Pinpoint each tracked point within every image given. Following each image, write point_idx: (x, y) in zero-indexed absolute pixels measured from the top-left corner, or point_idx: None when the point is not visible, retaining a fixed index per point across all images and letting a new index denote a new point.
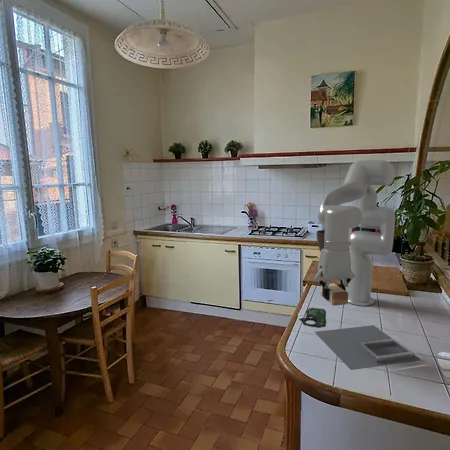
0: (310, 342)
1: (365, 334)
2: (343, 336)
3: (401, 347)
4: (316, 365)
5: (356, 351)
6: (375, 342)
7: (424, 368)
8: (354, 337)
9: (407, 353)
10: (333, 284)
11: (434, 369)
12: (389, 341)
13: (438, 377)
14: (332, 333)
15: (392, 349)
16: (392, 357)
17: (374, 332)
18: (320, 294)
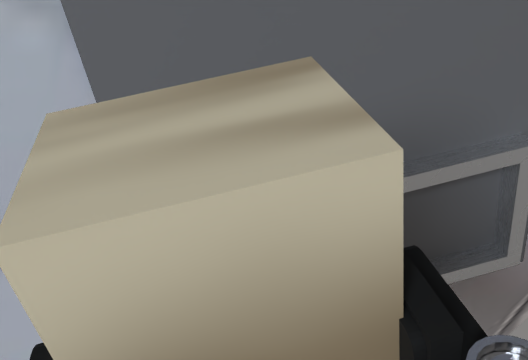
0: (10, 131)
1: (434, 36)
2: (273, 63)
3: (509, 213)
4: (26, 336)
5: None
6: (412, 190)
7: (487, 298)
8: (340, 78)
9: (489, 269)
10: (353, 224)
11: (516, 299)
12: (495, 166)
13: (488, 336)
14: (206, 18)
15: (466, 196)
16: None
17: (508, 6)
18: (44, 123)
